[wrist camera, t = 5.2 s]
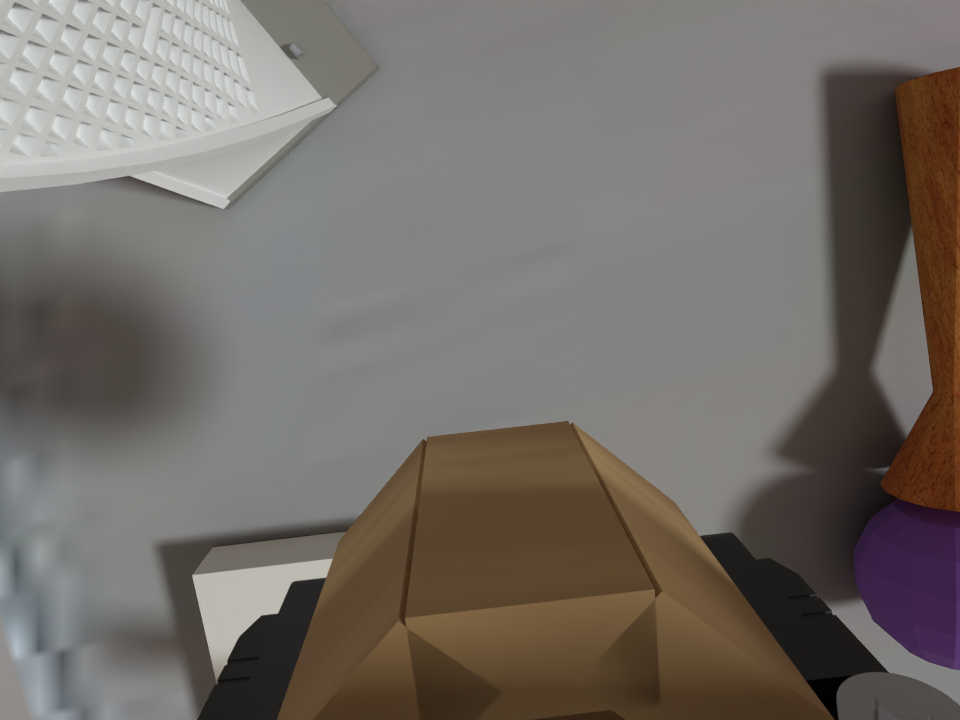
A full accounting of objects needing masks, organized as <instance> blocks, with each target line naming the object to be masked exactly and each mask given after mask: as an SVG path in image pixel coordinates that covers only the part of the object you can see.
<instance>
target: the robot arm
mask: <svg viewBox="0 0 960 720" xmlns="http://www.w3.org/2000/svg"><path fill="white" fill-rule="evenodd" d="M700 537H701V539H702V540H703V541H704V543H705V544H706V546H707V547H708V548H709V550H710V551H711V552H712V554H713V555H714V556H715V558H716V559H717V561H718V562H719V563H720V565H721V566H722V567H723V569H724V570H725V571H726V573H727V574H728V576H729V577H730V578H731V580H732V581H733V582H734V584H735V585H736V586H737V588H738V589H739V590H740V592H741V593H742V595H743V596H744V597H745V599H746V600H747V601H748V603H749V604H750V605H751V607H752V608H753V610H754V611H755V612H756V614H757V615H758V616H759V618H760V619H761V620H762V622H763V623H764V625H765V626H766V627H767V629H768V630H769V631H770V633H771V634H772V635H773V637H774V638H775V640H776V641H777V642H778V644H779V645H780V646H781V648H782V649H783V650H784V652H785V653H786V654H787V656H788V657H789V659H790V660H791V661H792V663H793V664H794V665H795V667H796V668H797V669H798V671H799V672H800V674H801V675H802V676H803V678H804V679H805V680H806V682H807V683H808V684H809V686H810V687H811V689H812V690H813V691H814V693H815V694H816V695H817V697H818V698H819V699H820V701H821V702H822V704H823V705H824V706H825V708H826V709H827V710H828V712H829V713H830V714H831V716H832V717H833V719H834V720H960V706H959V705H958V704H957V703H956V702H955V701H954V700H952V699H951V698H950V697H949V696H947V695H946V694H944V693H943V692H941V691H939V690H938V689H936V688H934V687H932V686H930V685H928V684H926V683H923V682H921V681H919V680H916V679H913V678H910V677H906V676H903V675H898V674H893V673H889V672H888V671H887V670H886V669H885V668H884V667H883V666H882V665H881V664H880V663H879V661H878V660H877V659H876V658H875V657H874V656H873V655H872V654H871V653H870V652H869V651H868V650H867V648H866V647H865V646H864V645H863V644H862V643H861V642H860V641H859V640H858V639H857V638H856V637H855V636H854V634H853V633H852V632H851V631H850V630H849V629H848V628H847V627H846V626H845V625H844V624H843V623H842V621H841V620H840V619H839V618H838V617H837V616H836V615H833V614H832V611H831V610H830V608H829V607H828V606H827V605H826V604H825V603H824V602H823V601H822V600H821V599H820V598H817V596H816V593H815V592H814V591H813V590H812V589H811V588H810V587H809V586H808V585H807V584H806V582H805V581H804V580H803V579H802V578H801V577H800V576H799V575H798V574H797V573H795V572H793V571H791V570H790V569H788V568H786V567H784V566H782V565H781V564H779V563H777V562H775V561H774V560H772V559H770V558H768V559H759V560H755V558H754V557H753V556H752V555H751V554H750V552H749V551H748V550H747V549H746V548H745V546H744V545H743V544H742V543H741V542H740V541H739V539H738V538H737V537H736V536H735V535H734V534H733V533H730V532H729V533H721V534H712V535H703V536H700ZM325 580H326V578H318V579H309V580H300V581H294V582H292V583H291V585H290V587H289V589H288V592H287V594H286V596H285V599H284V601H283V603H282V605H281V608H280V610H279V612H278V614H270V615H261V616H260V617H259V618H258V619H257V620H256V621H255V622H254V623H253V624H252V625H251V626H250V627H249V628H248V629H247V630H246V631H245V632H244V633H243V634H241V635H240V636H239V638H238V640H237V642H236V644H235V646H234V648H233V650H232V652H231V654H230V656H229V658H228V660H227V665H225V666H224V668H223V670H222V672H221V674H220V676H219V678H218V680H217V685H215V686H214V688H213V690H212V692H211V694H210V696H209V698H208V700H207V702H206V704H205V706H204V708H203V710H202V712H201V714H200V716H199V718H198V720H277V718H278V715H279V712H280V709H281V706H282V703H283V701H284V698H285V695H286V692H287V689H288V686H289V683H290V680H291V678H292V675H293V672H294V669H295V666H296V663H297V660H298V657H299V655H300V652H301V649H302V646H303V643H304V640H305V637H306V634H307V632H308V629H309V626H310V623H311V620H312V617H313V614H314V611H315V609H316V606H317V603H318V600H319V597H320V594H321V591H322V588H323V586H324V583H325Z"/></svg>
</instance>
